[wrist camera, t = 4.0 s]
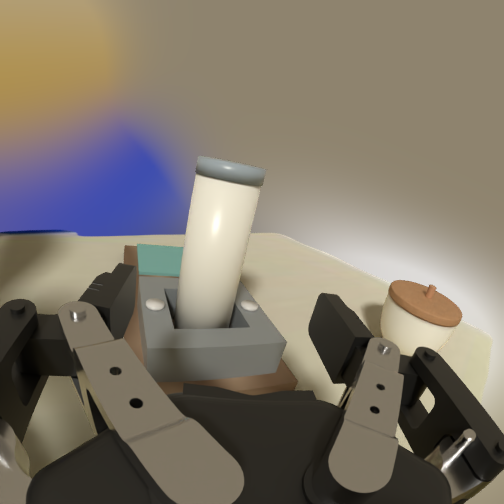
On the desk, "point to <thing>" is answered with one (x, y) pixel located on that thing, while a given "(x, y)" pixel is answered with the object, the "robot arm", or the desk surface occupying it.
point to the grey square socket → (204, 338)
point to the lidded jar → (418, 317)
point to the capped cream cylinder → (216, 242)
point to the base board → (245, 385)
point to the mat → (159, 260)
